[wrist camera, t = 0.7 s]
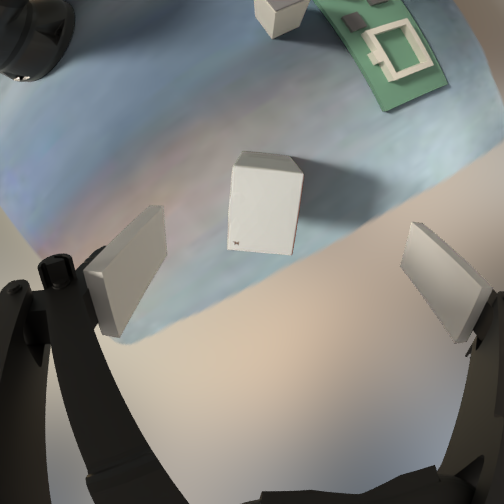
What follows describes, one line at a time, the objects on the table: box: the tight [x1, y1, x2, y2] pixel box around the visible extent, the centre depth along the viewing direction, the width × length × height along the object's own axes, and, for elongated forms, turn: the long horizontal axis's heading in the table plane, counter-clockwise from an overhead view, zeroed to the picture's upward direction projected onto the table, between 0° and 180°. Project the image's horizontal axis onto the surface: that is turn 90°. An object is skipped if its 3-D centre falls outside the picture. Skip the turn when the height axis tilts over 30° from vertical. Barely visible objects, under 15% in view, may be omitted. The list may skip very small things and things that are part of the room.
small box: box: [227, 151, 304, 255], centre depth 31 cm, size 8×6×13 cm
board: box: [313, 0, 448, 111], centre depth 25 cm, size 22×12×4 cm, turn 32°
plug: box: [254, 0, 310, 39], centre depth 23 cm, size 4×4×10 cm
